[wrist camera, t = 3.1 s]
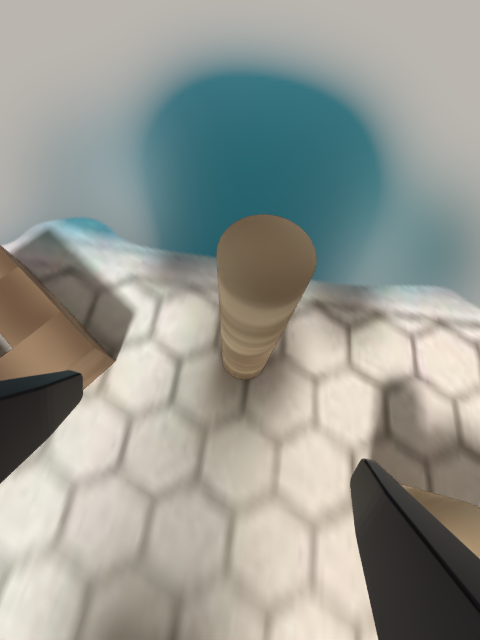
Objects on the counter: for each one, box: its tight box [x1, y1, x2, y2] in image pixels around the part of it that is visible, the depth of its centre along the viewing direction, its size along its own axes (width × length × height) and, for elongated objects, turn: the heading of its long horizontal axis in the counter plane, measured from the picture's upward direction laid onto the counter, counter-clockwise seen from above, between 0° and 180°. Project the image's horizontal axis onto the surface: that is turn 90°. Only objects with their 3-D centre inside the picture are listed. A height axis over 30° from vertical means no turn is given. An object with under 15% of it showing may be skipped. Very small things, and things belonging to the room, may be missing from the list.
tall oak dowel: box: [217, 214, 317, 379], centre depth 16 cm, size 3×3×14 cm
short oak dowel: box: [400, 484, 480, 559], centre depth 16 cm, size 3×3×7 cm
